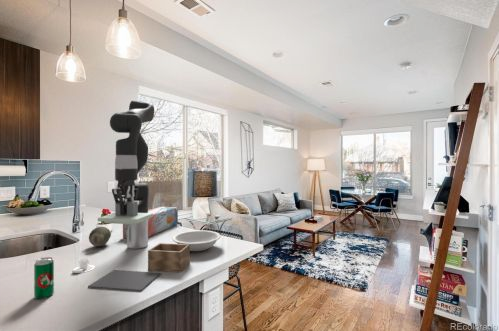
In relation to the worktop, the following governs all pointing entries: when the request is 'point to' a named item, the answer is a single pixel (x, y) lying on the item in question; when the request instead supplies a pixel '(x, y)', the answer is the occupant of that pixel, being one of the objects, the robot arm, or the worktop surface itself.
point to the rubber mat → (125, 280)
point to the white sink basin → (197, 239)
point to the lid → (129, 218)
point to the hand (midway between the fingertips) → (126, 213)
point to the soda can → (43, 277)
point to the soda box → (159, 220)
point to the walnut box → (169, 257)
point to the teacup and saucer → (83, 266)
